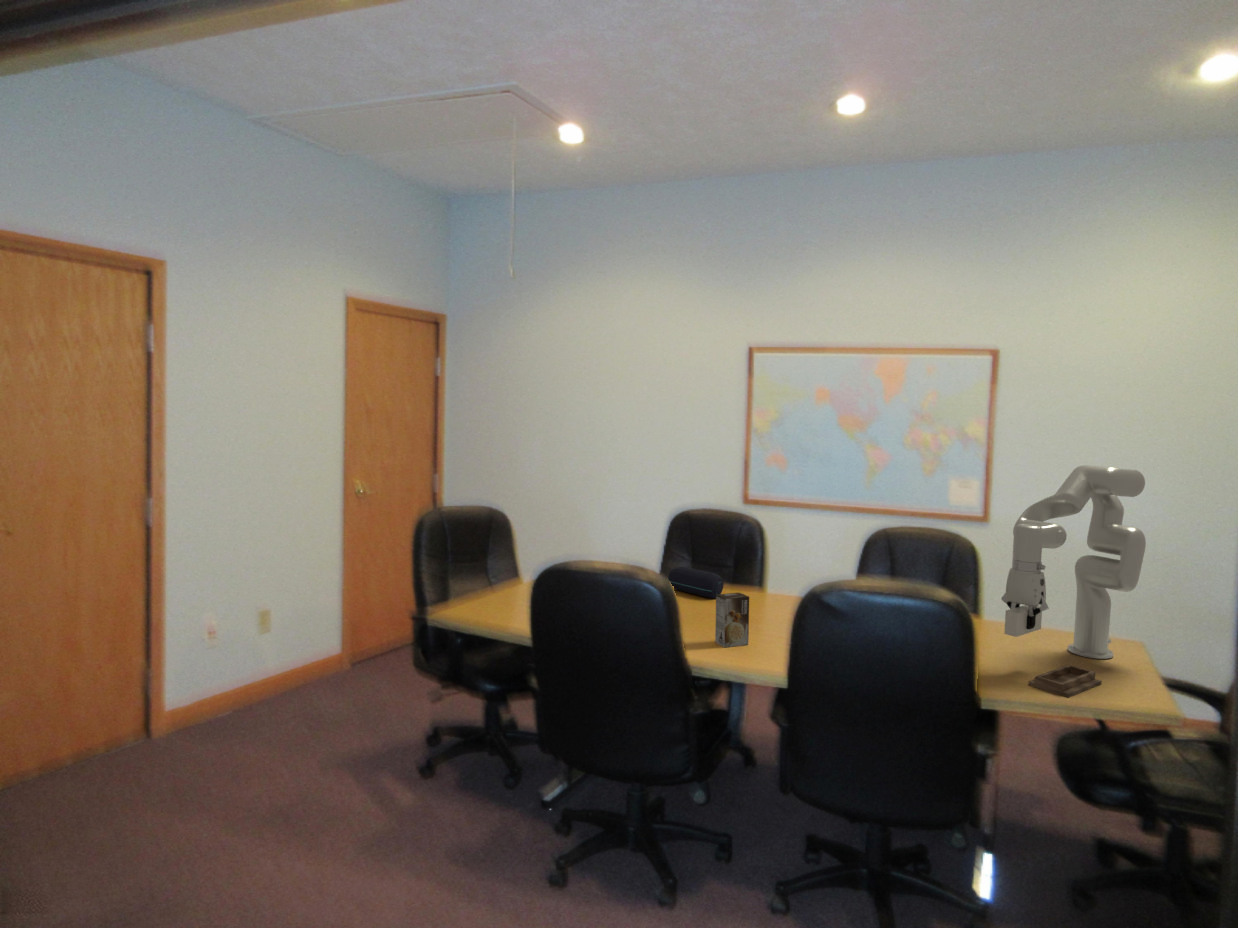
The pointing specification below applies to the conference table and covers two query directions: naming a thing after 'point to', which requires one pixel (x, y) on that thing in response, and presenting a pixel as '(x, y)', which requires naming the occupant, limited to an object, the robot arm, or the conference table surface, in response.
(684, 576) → the portable speaker
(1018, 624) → the light grey block
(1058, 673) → the rack
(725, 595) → the coffee box
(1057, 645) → the conference table surface
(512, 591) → the conference table surface
